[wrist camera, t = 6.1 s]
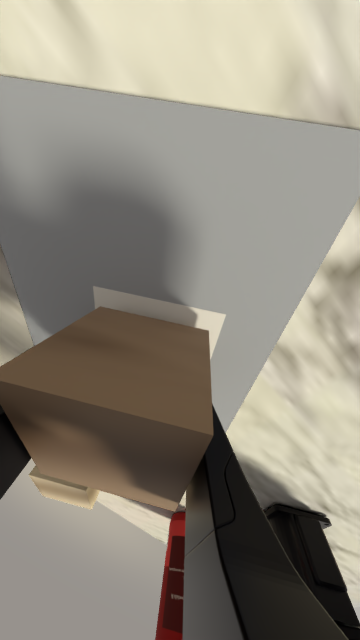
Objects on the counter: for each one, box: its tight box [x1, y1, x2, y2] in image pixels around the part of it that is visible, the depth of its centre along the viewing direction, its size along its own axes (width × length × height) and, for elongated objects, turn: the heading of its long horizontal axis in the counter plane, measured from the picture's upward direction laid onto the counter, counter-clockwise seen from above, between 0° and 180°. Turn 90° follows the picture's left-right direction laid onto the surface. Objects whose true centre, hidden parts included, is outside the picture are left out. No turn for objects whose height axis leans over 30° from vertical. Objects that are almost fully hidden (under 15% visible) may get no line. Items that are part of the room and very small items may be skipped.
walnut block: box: [0, 306, 213, 512], centre depth 7 cm, size 6×6×5 cm
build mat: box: [0, 76, 360, 433], centre depth 10 cm, size 20×16×1 cm
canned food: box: [155, 512, 186, 640], centre depth 21 cm, size 8×8×11 cm
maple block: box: [29, 466, 100, 510], centre depth 15 cm, size 4×4×5 cm
